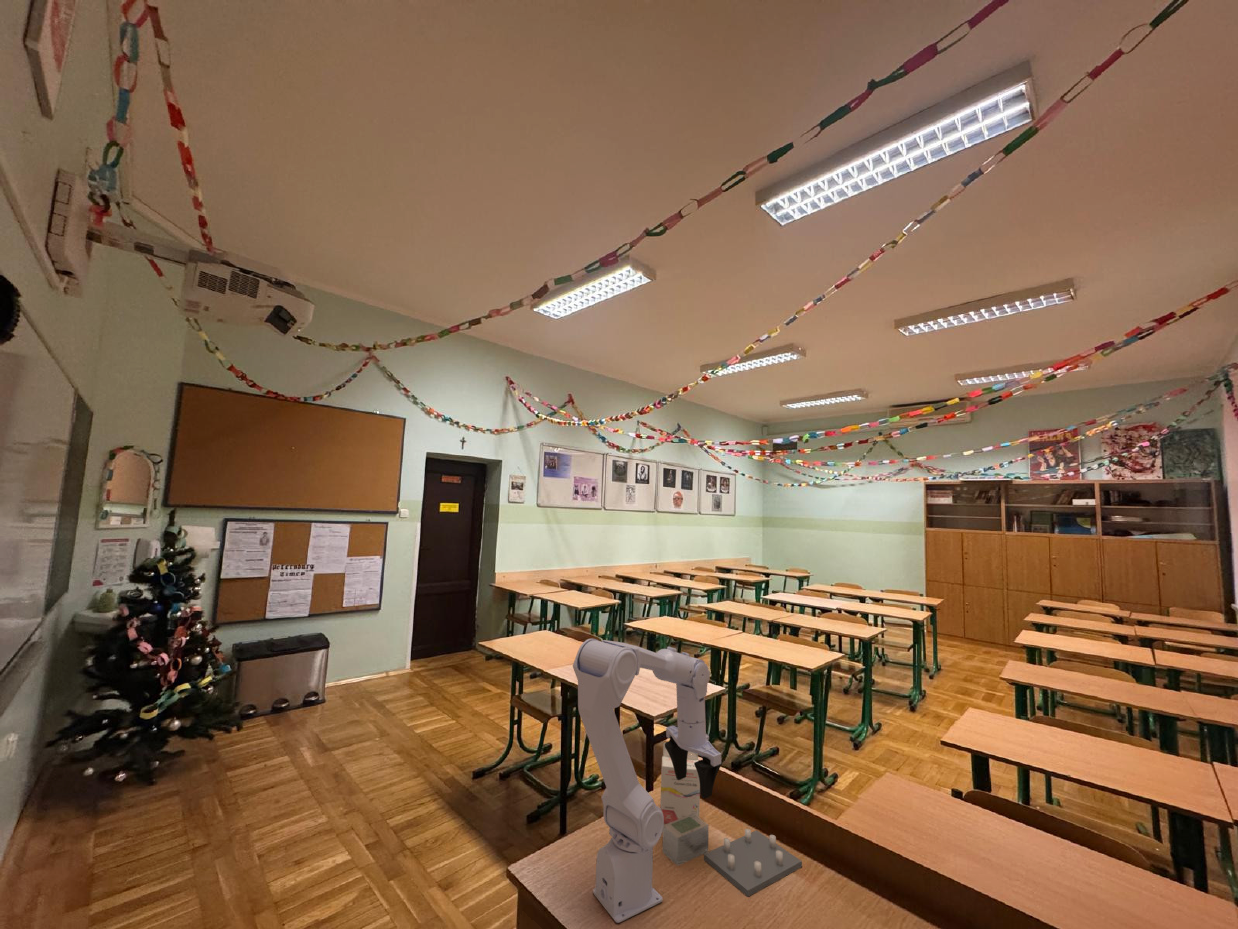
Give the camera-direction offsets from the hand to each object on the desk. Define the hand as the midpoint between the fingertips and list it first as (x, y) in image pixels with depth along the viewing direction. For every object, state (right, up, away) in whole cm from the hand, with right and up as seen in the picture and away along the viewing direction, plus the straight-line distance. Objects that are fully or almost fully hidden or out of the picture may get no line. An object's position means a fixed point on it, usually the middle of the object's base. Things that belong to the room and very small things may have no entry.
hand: (693, 787), depth 97 cm
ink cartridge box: (-2, -13, +8) cm, 15 cm away
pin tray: (+11, -11, -5) cm, 16 cm away
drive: (-2, -11, -3) cm, 12 cm away
